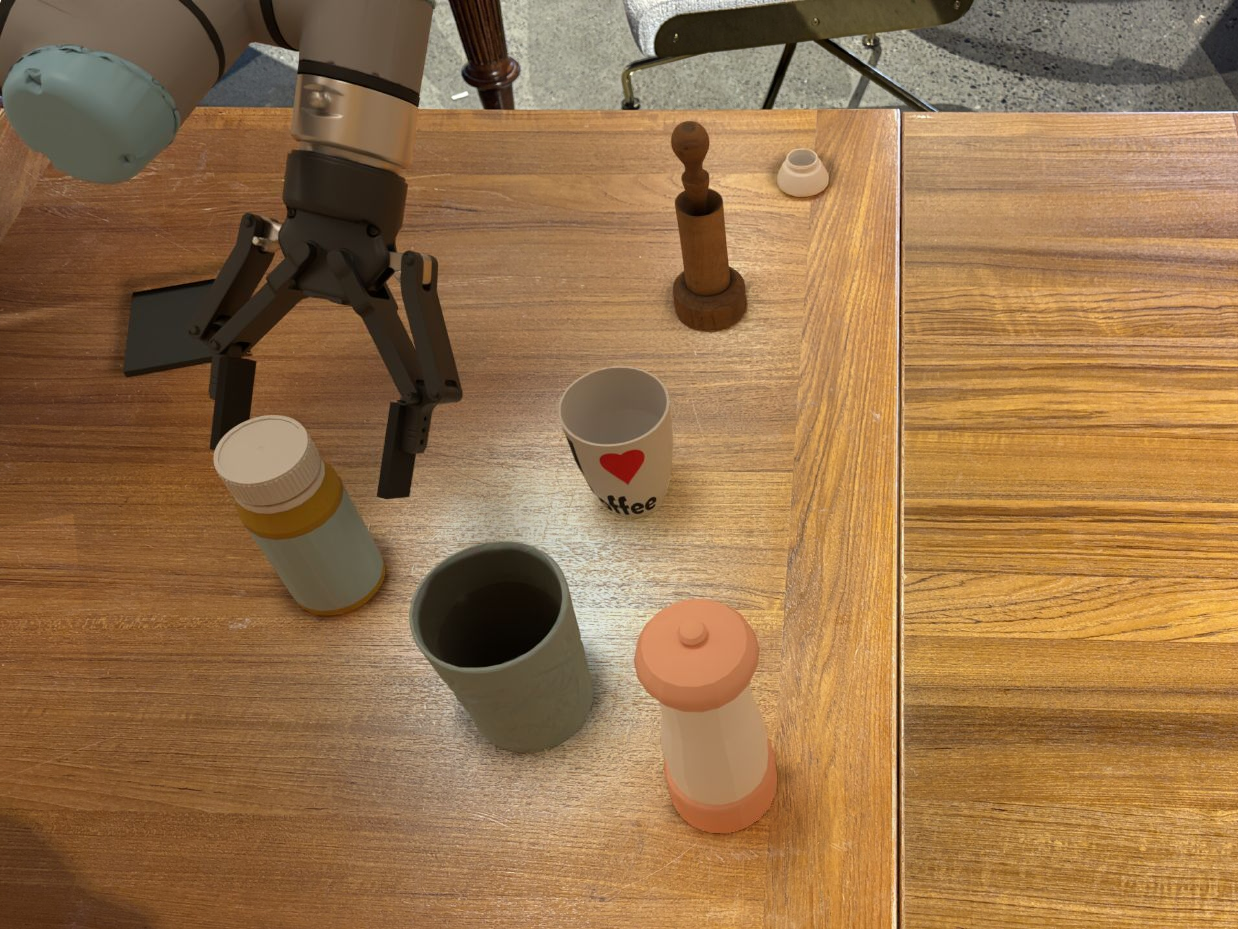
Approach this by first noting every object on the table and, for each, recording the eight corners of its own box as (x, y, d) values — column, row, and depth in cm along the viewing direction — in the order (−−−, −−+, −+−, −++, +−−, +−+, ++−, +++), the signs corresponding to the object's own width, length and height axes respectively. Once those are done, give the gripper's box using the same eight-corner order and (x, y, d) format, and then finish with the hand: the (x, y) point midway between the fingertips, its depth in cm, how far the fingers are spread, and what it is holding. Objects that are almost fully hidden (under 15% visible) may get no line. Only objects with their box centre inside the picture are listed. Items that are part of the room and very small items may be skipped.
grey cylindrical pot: (561, 781, 81) (520, 691, 71) (432, 737, 83) (375, 643, 73) (626, 662, 86) (596, 562, 77) (503, 623, 89) (458, 522, 79)
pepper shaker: (686, 729, 83) (646, 564, 67) (788, 747, 82) (771, 584, 66) (657, 823, 79) (606, 672, 63) (763, 843, 78) (739, 695, 63)
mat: (126, 376, 104) (122, 371, 103) (136, 294, 110) (132, 289, 110) (244, 355, 105) (241, 350, 105) (247, 275, 111) (244, 270, 111)
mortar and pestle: (761, 312, 107) (746, 132, 92) (699, 342, 105) (673, 162, 90) (722, 272, 110) (702, 91, 95) (661, 300, 108) (630, 120, 93)
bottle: (303, 632, 88) (213, 503, 76) (288, 563, 92) (199, 429, 80) (397, 601, 90) (323, 468, 78) (378, 534, 94) (305, 397, 81)
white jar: (768, 192, 117) (815, 205, 115) (767, 166, 114) (814, 179, 113) (791, 163, 119) (837, 176, 118) (790, 137, 117) (836, 149, 115)
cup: (566, 518, 94) (538, 430, 86) (611, 445, 98) (588, 355, 90) (659, 545, 92) (640, 458, 84) (701, 470, 97) (687, 380, 88)
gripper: (149, 112, 78) (119, 431, 83) (486, 185, 73) (434, 521, 78) (233, 138, 85) (201, 431, 90) (545, 206, 80) (494, 513, 85)
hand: (309, 473), depth 84 cm, fingers open, 13 cm apart
